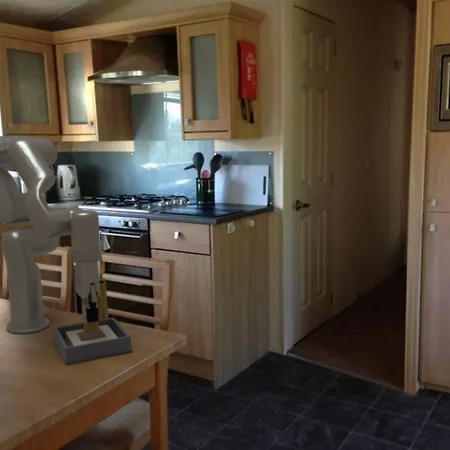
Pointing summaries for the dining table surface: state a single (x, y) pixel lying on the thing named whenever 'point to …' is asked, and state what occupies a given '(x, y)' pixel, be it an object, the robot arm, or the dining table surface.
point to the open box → (95, 348)
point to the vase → (102, 301)
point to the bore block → (89, 336)
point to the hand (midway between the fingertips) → (90, 318)
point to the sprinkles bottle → (92, 326)
